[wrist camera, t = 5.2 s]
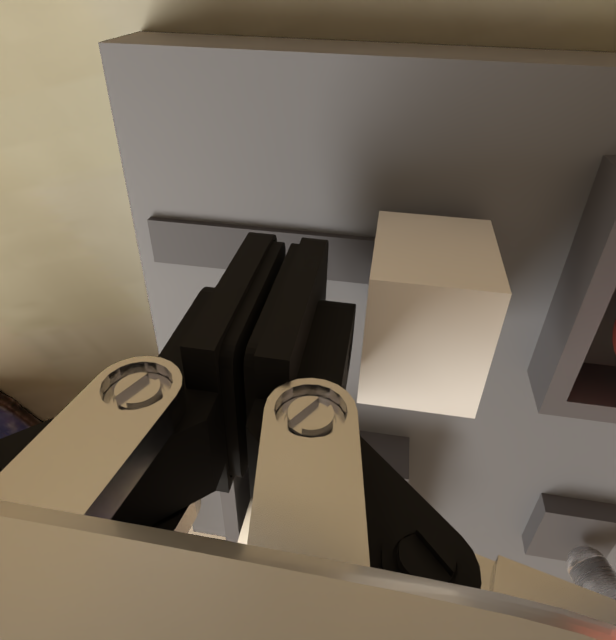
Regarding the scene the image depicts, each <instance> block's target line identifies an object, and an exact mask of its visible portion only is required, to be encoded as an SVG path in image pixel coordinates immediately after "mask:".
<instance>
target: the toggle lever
mask: <svg viewBox="0 0 616 640" xmlns="http://www.w3.org/2000/svg"><path fill="white" fill-rule="evenodd" d="M566 567H567V571H568V573H569V575H570V577H571V579H572V580H573V582H574V584H576V585H578V586H581V587H583V588H586V589H589V590H591V591H594V592H596V593H599V594H602V595H604V596H607V597H609V598H612V599H615V600H616V572H615V571H614V569H613V568H612V566H611V565H610V563H609V562H608V560H607V559H606V558H605V556H604V555H603V554H602V553H601V552H599V551H598V550H596V549H594V548H592V547H588V546H580V547H576V548H574V549H573V550H572V551H571V552H570V553H569V554H568V556H567V560H566Z"/></svg>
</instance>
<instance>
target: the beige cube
mask: <svg viewBox="0 0 616 640" xmlns="http://www.w3.org/2000/svg"><path fill="white" fill-rule="evenodd" d="M511 295H512V293H511V289H510V286H509V282H508V279H507V275H506V272H505V268H504V265H503V261H502V258H501V254H500V251H499V247H498V244H497V240H496V237H495V233H494V230H493V226H492V223H491V220H481V219H470V218H458V217H446V216H435V215H423V214H411V213H400V212H388V211H379V216H378V223H377V230H376V237H375V244H374V251H373V258H372V265H371V272H370V279H369V288H368V298H367V308H366V317H365V327H364V337H363V346H362V356H361V366H360V376H359V385H358V395H357V403H361V404H369V405H376V406H384V407H391V408H399V409H406V410H414V411H421V412H428V413H436V414H443V415H451V416H458V417H466V418H473V419H475V416H476V413H477V410H478V406H479V403H480V399H481V396H482V393H483V389H484V386H485V383H486V379H487V376H488V373H489V369H490V366H491V362H492V359H493V356H494V352H495V349H496V346H497V342H498V339H499V336H500V332H501V329H502V325H503V322H504V319H505V315H506V312H507V309H508V305H509V302H510V299H511Z"/></svg>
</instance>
